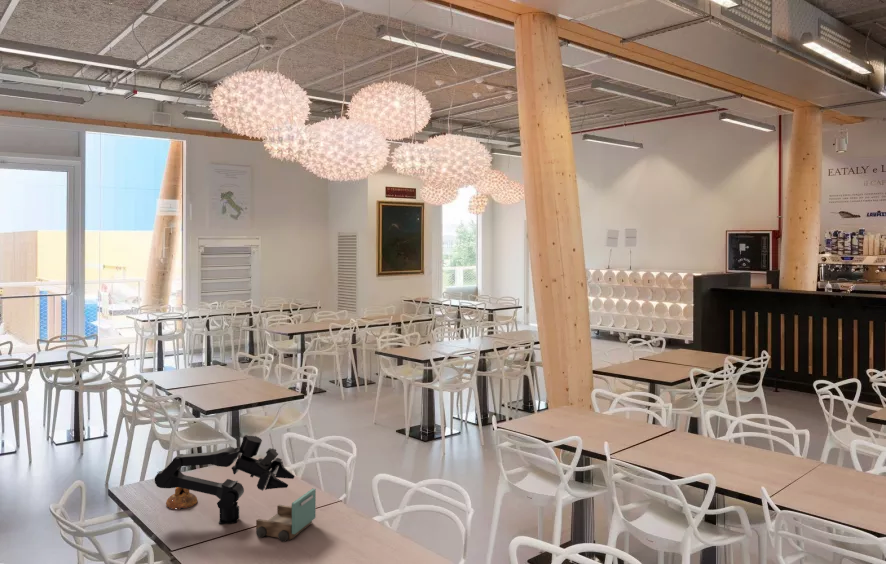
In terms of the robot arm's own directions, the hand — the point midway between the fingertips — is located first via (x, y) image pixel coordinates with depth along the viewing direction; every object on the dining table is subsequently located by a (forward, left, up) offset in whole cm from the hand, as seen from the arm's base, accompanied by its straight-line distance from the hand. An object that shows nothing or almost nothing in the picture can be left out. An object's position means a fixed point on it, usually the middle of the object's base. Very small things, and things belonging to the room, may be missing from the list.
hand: (291, 481), depth 246 cm
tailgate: (+5, -11, -13) cm, 17 cm away
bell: (-43, +26, -16) cm, 52 cm away
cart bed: (-2, -6, -15) cm, 17 cm away
